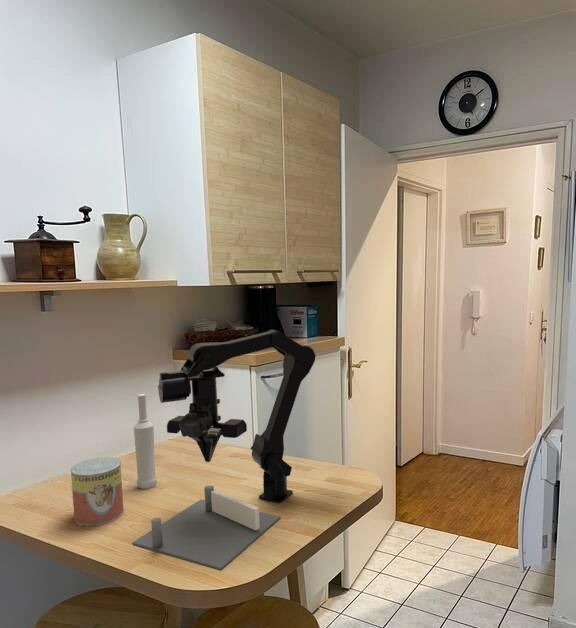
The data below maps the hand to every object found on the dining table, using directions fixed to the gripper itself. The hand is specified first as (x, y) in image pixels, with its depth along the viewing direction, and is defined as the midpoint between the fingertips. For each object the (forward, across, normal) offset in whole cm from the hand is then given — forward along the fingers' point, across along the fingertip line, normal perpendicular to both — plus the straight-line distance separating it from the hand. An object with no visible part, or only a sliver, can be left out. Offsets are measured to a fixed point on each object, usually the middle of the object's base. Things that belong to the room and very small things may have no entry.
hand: (208, 461), depth 121 cm
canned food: (+12, -25, -9) cm, 30 cm away
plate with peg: (+12, +5, -9) cm, 16 cm away
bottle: (+12, -25, +9) cm, 29 cm away
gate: (+11, +7, -4) cm, 14 cm away
